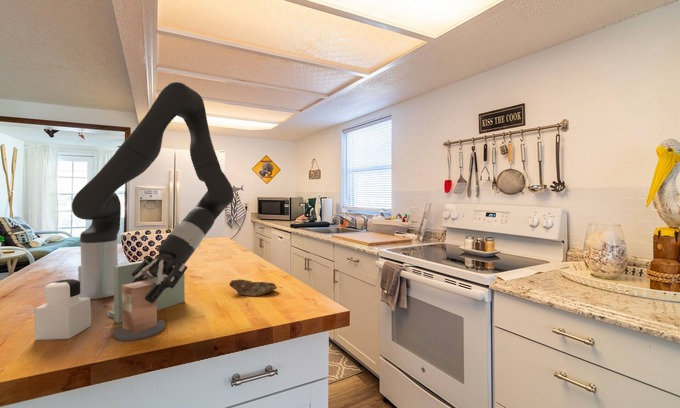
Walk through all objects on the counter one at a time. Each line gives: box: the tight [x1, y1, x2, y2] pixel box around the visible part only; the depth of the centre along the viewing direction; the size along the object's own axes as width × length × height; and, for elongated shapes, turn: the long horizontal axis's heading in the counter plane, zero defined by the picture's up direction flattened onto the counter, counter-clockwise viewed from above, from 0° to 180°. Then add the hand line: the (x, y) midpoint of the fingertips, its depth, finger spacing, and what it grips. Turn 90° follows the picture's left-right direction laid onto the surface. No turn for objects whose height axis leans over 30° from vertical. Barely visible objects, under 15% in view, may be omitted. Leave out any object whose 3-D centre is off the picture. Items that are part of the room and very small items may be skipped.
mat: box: [113, 318, 166, 342], centre depth 74 cm, size 10×10×1 cm
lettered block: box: [121, 280, 158, 333], centre depth 74 cm, size 5×5×10 cm
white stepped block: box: [33, 278, 92, 341], centre depth 73 cm, size 7×7×12 cm
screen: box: [107, 260, 186, 324], centre depth 88 cm, size 18×7×14 cm, turn 152°
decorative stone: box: [228, 279, 278, 298], centre depth 104 cm, size 10×4×15 cm
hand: (137, 298), depth 73 cm, fingers open, 8 cm apart
